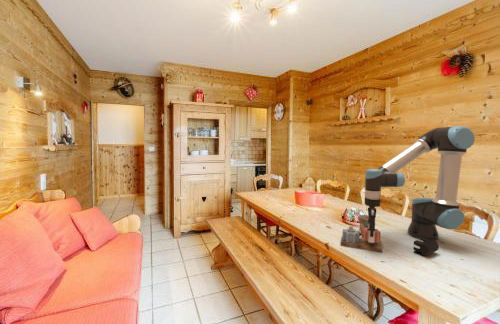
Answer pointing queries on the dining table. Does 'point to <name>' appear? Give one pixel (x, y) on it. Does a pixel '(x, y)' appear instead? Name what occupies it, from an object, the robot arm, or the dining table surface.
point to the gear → (351, 236)
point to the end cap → (425, 246)
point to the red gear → (366, 235)
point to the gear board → (362, 244)
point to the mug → (363, 222)
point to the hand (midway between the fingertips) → (370, 238)
